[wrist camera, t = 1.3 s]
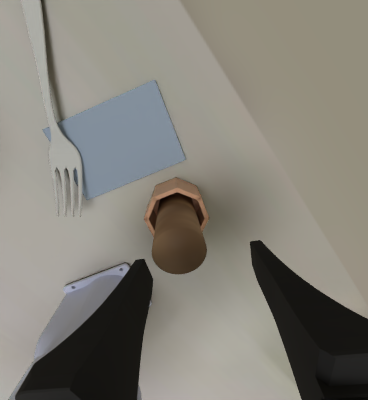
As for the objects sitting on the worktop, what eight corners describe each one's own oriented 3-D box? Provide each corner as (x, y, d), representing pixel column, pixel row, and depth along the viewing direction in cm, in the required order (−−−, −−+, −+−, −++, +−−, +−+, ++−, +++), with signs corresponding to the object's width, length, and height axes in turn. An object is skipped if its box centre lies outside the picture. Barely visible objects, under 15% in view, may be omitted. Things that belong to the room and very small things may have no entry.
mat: (88, 199, 22) (86, 200, 21) (44, 129, 19) (42, 129, 19) (185, 159, 21) (185, 159, 21) (155, 80, 18) (154, 79, 18)
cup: (162, 233, 24) (161, 252, 20) (141, 191, 22) (135, 203, 18) (207, 216, 24) (215, 232, 20) (190, 171, 21) (194, 180, 18)
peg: (167, 225, 23) (165, 281, 15) (153, 197, 22) (142, 240, 13) (197, 213, 23) (213, 263, 14) (185, 184, 21) (195, 219, 13)
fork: (35, -102, 14) (16, -135, 12) (91, 210, 22) (84, 216, 20) (-12, -105, 14) (-38, -139, 12) (62, 211, 21) (52, 217, 20)
